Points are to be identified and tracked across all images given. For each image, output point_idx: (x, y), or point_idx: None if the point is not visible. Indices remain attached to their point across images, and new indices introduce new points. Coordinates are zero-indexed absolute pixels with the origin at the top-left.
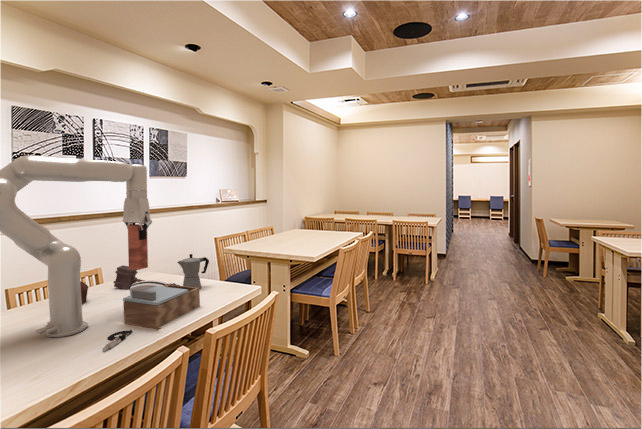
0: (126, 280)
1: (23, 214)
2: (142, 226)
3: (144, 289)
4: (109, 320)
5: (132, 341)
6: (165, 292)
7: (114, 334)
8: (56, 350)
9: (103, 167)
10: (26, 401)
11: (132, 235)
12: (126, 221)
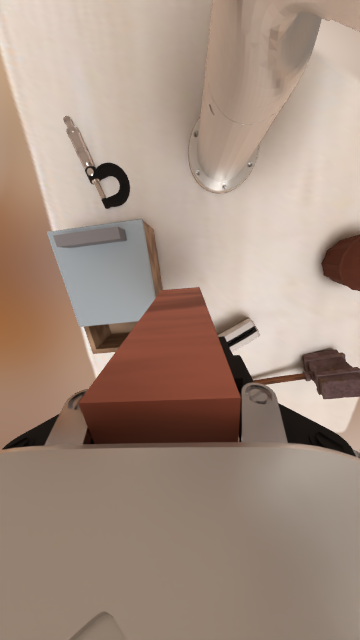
0: (317, 364)
1: None
2: (57, 426)
3: (225, 334)
4: (194, 230)
5: (72, 182)
6: (99, 293)
7: (124, 186)
8: (147, 71)
9: None
10: None
11: (171, 338)
12: (280, 449)
